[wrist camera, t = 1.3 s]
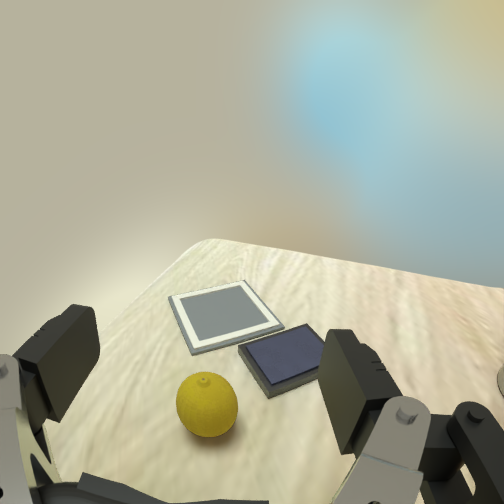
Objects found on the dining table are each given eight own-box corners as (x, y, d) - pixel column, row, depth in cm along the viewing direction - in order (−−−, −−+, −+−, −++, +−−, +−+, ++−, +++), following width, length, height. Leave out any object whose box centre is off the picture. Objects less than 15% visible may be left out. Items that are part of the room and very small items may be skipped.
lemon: (249, 424, 27) (251, 376, 23) (213, 459, 23) (205, 418, 19) (208, 397, 30) (201, 346, 26) (171, 427, 26) (155, 380, 22)
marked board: (244, 282, 51) (244, 278, 51) (284, 328, 41) (284, 324, 40) (168, 298, 46) (167, 295, 45) (192, 355, 35) (191, 351, 35)
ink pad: (305, 330, 40) (307, 321, 40) (340, 367, 34) (343, 359, 33) (238, 352, 36) (238, 343, 36) (268, 398, 30) (269, 390, 29)
